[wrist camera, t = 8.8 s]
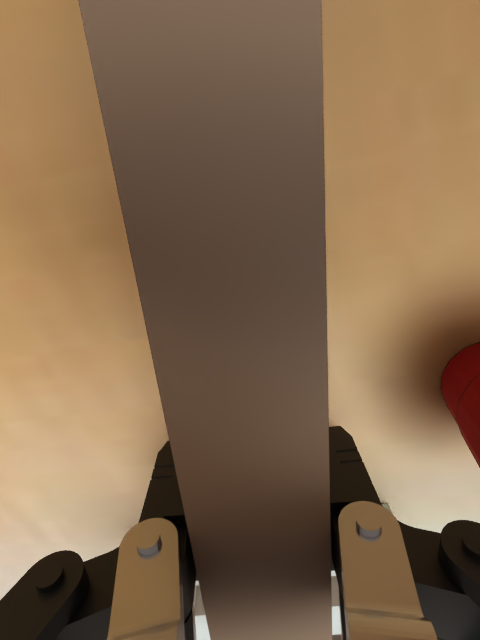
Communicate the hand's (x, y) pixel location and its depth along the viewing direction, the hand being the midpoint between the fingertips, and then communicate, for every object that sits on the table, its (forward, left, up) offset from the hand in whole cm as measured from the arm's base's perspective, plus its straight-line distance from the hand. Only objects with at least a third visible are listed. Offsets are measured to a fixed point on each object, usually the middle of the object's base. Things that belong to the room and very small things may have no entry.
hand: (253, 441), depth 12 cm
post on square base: (0, 0, -1) cm, 1 cm away
